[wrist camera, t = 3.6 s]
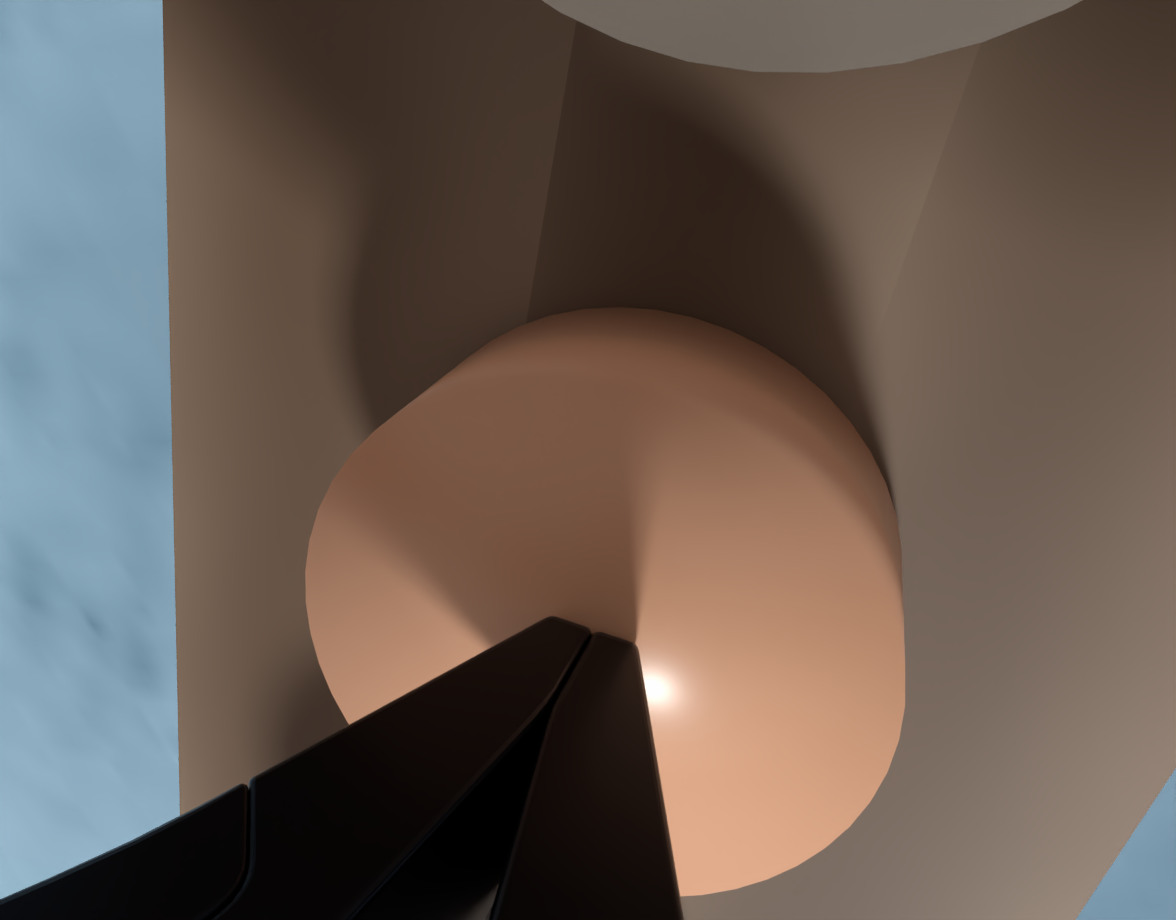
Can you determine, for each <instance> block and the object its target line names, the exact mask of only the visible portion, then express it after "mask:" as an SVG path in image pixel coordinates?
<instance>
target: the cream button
mask: <svg viewBox="0 0 1176 920" xmlns="http://www.w3.org/2000/svg"><path fill="white" fill-rule="evenodd" d="M542 1H544V2H545V3H547V4H548V5H550V6H551V7H553V8H554V9H556V10H557V11H559V12H560V13H562V14H564V15H566V16H569V17H571V18H573V19H575V20H577V21H579V22H581V23H583V24H586V25H588V26H590V27H592V28H594V29H596V30H598V31H600V32H602V33H605V34H607V35H609V36H611V37H613V38H615V39H617V40H619V41H622V42H625V43H628V44H631V45H635V46H638V47H641V48H644V49H648V50H651V51H654V52H657V53H661V54H664V55H667V56H671V57H674V58H677V59H680V60H684V61H687V62H694V63H700V64H707V65H714V66H720V67H727V68H733V69H740V70H746V71H753V72H820V73H828V72H836V71H844V70H852V69H860V68H868V67H875V66H883V65H891V64H899V63H905V62H909V61H913V60H917V59H921V58H924V57H928V56H932V55H936V54H940V53H943V52H947V51H951V50H955V49H959V48H962V47H966V46H970V45H974V44H978V43H982V42H985V41H987V40H990V39H992V38H995V37H997V36H1000V35H1002V34H1005V33H1007V32H1010V31H1012V30H1015V29H1017V28H1020V27H1022V26H1025V25H1027V24H1030V23H1033V22H1035V21H1038V20H1040V19H1043V18H1045V17H1048V16H1050V15H1053V14H1055V13H1058V12H1060V11H1063V10H1065V9H1067V8H1069V7H1071V6H1073V5H1075V4H1077V3H1078V2H1080V1H1082V0H542Z"/></svg>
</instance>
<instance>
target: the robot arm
mask: <svg viewBox="0 0 1176 920" xmlns="http://www.w3.org/2000/svg"><path fill="white" fill-rule="evenodd" d="M492 905H493V906H492ZM491 907H492V909H491ZM490 909H491V913H490V916H489V920H684V916H683V910H682V904H681V898H680V892H679V886H678V880H677V874H676V868H675V862H674V856H673V850H672V844H671V838H670V832H669V826H668V821H667V815H666V809H665V803H664V797H663V791H662V785H661V779H660V773H659V767H658V761H657V755H656V749H655V743H654V737H653V731H652V725H651V719H650V713H649V707H648V701H647V695H646V689H645V683H644V677H643V671H642V665H641V660H640V654H639V650H638V647H637V646H636V644H634V643H633V642H630V641H627V640H624V639H622V638H619V637H616V636H613V635H610V634H607V633H604V632H596V633H594V634H593V635H592V633H591V630H590V629H589V628H588V627H586V626H583V625H580V624H577V623H574V622H572V621H569V620H566V619H563V618H560V617H557V616H549V617H546V618H544V619H542V620H540V621H538V622H536V623H535V624H533V625H531V626H529V627H527V628H525V629H524V630H522V631H520V632H518V633H516V634H514V635H513V636H511V637H509V638H507V639H505V640H503V641H502V642H500V643H498V644H496V645H494V646H492V647H491V648H489V649H487V650H485V651H483V652H481V653H480V654H478V655H476V656H474V657H472V658H470V659H469V660H467V661H465V662H463V663H461V664H459V665H458V666H456V667H454V668H452V669H450V670H448V671H447V672H445V673H443V674H441V675H439V676H437V677H436V678H434V679H432V680H430V681H428V682H426V683H425V684H423V685H421V686H419V687H417V688H415V689H414V690H412V691H410V692H408V693H406V694H404V695H403V696H401V697H399V698H397V699H395V700H393V701H392V702H390V703H388V704H386V705H384V706H382V707H381V708H379V709H377V710H375V711H373V712H371V713H370V714H368V715H366V716H364V717H362V718H360V719H359V720H357V721H355V722H353V723H351V724H349V725H348V726H346V727H344V728H342V729H340V730H338V731H337V732H335V733H333V734H331V735H329V736H327V737H326V738H324V739H322V740H320V741H318V742H316V743H315V744H313V745H311V746H309V747H307V748H305V749H304V750H302V751H300V752H298V753H296V754H294V755H293V756H291V757H289V758H287V759H285V760H283V761H281V762H280V763H278V764H276V765H274V766H272V767H270V768H269V769H267V770H265V771H263V772H261V773H259V774H258V775H256V776H254V777H252V778H251V779H250V781H249V789H248V786H247V785H246V784H243V783H241V784H239V785H237V786H235V787H233V788H231V789H229V790H228V791H226V792H224V793H222V794H220V795H218V796H216V797H215V798H213V799H211V800H209V801H207V802H205V803H204V804H202V805H200V806H198V807H196V808H194V809H192V810H190V811H188V812H186V813H184V814H182V815H181V816H179V817H177V818H175V819H173V820H171V821H169V822H167V823H165V824H163V825H161V826H159V827H157V828H155V829H153V830H151V831H149V832H147V833H145V834H143V835H142V836H140V837H138V838H136V839H134V840H132V841H130V842H127V843H125V844H123V845H121V846H119V847H117V848H114V849H112V850H110V851H108V852H106V853H103V854H101V855H99V856H97V857H95V858H92V859H90V860H88V861H86V862H84V863H82V864H79V865H77V866H75V867H73V868H71V869H68V870H66V871H64V872H62V873H60V874H57V875H55V876H53V877H51V878H49V879H46V880H44V881H42V882H39V883H37V884H35V885H32V886H30V887H28V888H25V889H23V890H21V891H19V892H16V893H14V894H12V895H9V896H7V897H5V898H2V899H0V920H485V918H486V916H487V914H488V912H489V911H490Z"/></svg>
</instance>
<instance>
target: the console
mask: <svg viewBox="0 0 1176 920" xmlns="http://www.w3.org/2000/svg"><path fill="white" fill-rule="evenodd" d="M163 41H164V88H165V134H166V181H167V228H168V274H169V321H170V367H171V414H172V461H173V507H174V554H175V600H176V647H177V694H178V740H179V787H180V816H181V815H182V814H184V813H186V812H188V811H190V810H192V809H194V808H196V807H198V806H200V805H202V804H204V803H205V802H207V801H209V800H211V799H213V798H215V797H216V796H218V795H220V794H222V793H224V792H226V791H228V790H229V789H231V788H233V787H235V786H237V785H239V784H241V783H243V784H246V785H247V786H248V789H249V781H250V779H251V778H252V777H254V776H256V775H258V774H259V773H261V772H263V771H265V770H267V769H269V768H270V767H272V766H274V765H276V764H278V763H280V762H281V761H283V760H285V759H287V758H289V757H291V756H293V755H294V754H296V753H298V752H300V751H302V750H304V749H305V748H307V747H309V746H311V745H313V744H315V743H316V742H318V741H320V740H322V739H324V738H326V737H327V736H329V735H331V734H333V733H335V732H337V731H338V730H340V729H342V728H344V727H346V726H348V725H349V724H348V722H347V721H346V719H345V717H344V715H343V713H342V712H341V710H340V708H339V706H338V704H337V703H336V701H335V699H334V697H333V695H332V693H331V691H330V689H329V686H328V684H327V681H326V679H325V677H324V674H323V672H322V669H321V667H320V665H319V661H318V658H317V654H316V651H315V647H314V644H313V640H312V637H311V633H310V627H309V620H308V614H307V607H306V586H305V569H306V562H307V554H308V547H309V540H310V536H311V533H312V529H313V526H314V523H315V519H316V516H317V512H318V509H319V507H320V505H321V503H322V501H323V499H324V497H325V495H326V493H327V491H328V489H329V486H330V484H331V482H332V481H333V479H334V478H335V476H336V475H337V473H338V472H339V471H340V469H341V468H342V466H343V465H344V464H345V462H346V461H347V459H348V458H349V456H350V455H351V454H352V453H353V452H354V451H355V450H356V449H357V448H358V447H359V446H360V445H361V444H362V443H363V442H364V441H365V440H366V439H367V438H368V437H369V436H370V435H371V434H372V433H373V432H374V431H375V430H376V429H377V428H379V427H380V426H381V425H382V424H384V423H385V422H386V421H387V420H389V419H390V418H391V417H393V416H394V415H395V414H396V413H398V412H399V411H400V410H401V409H403V408H404V407H405V406H407V405H408V404H409V403H410V402H412V401H413V400H414V399H415V398H417V397H418V396H419V395H420V394H422V393H423V392H424V391H426V390H427V389H428V388H429V387H431V386H432V385H433V384H434V383H436V382H437V381H438V380H440V379H441V378H442V377H443V376H445V375H446V374H447V373H448V372H450V371H451V370H452V369H454V368H455V367H456V366H457V365H459V364H460V363H461V362H462V361H464V360H465V359H466V358H468V357H469V356H470V355H472V354H473V353H475V352H476V351H477V350H479V349H480V348H481V347H483V346H484V345H486V344H487V343H488V342H490V341H491V340H493V339H495V338H497V337H499V336H501V335H503V334H505V333H507V332H509V331H511V330H513V329H514V328H516V327H518V326H521V325H524V324H527V323H530V322H533V321H536V320H539V319H541V318H544V317H547V316H550V315H555V314H561V313H566V312H571V311H576V310H581V309H592V308H610V307H627V308H640V309H653V310H660V311H665V312H669V313H674V314H679V315H684V316H689V317H693V318H696V319H699V320H702V321H705V322H708V323H711V324H714V325H717V326H720V327H722V328H725V329H728V330H731V331H733V332H735V333H737V334H739V335H741V336H743V337H745V338H747V339H749V340H751V341H753V342H755V343H757V344H759V345H761V346H763V347H765V348H766V349H768V350H769V351H771V352H772V353H774V354H775V355H777V356H778V357H780V358H781V359H783V360H785V361H786V362H788V363H789V364H791V365H792V366H794V367H795V368H797V369H798V370H799V371H800V372H801V373H802V374H803V375H805V376H806V377H807V378H808V379H809V380H810V381H812V382H813V383H814V384H815V385H816V386H817V387H819V388H820V389H821V390H822V391H823V392H824V393H825V394H826V395H827V396H828V397H829V398H830V399H831V400H832V401H833V403H834V404H835V405H836V406H837V407H838V408H839V409H840V410H841V412H842V413H843V414H844V415H845V416H846V417H847V418H848V419H849V421H850V422H851V423H852V425H853V426H854V428H855V429H856V431H857V432H858V434H859V435H860V437H861V438H862V440H863V441H864V443H865V444H866V446H867V447H868V449H869V450H870V451H871V453H872V455H873V458H874V460H875V462H876V464H877V466H878V468H879V470H880V472H881V474H882V476H883V478H884V480H885V482H886V485H887V488H888V491H889V494H890V497H891V500H892V504H893V507H894V510H895V513H896V516H897V523H898V529H899V535H900V542H901V548H902V579H903V611H904V644H905V709H904V715H903V721H902V726H901V732H900V738H899V742H898V745H897V747H896V750H895V753H894V756H893V759H892V761H891V764H890V767H889V770H888V772H887V774H886V776H885V778H884V779H883V781H882V783H881V785H880V786H879V788H878V790H877V792H876V793H875V795H874V797H873V798H872V800H871V802H870V803H869V804H868V805H867V807H866V808H865V809H864V810H863V811H862V813H861V814H860V815H859V816H858V817H857V819H856V820H855V821H854V822H853V824H852V825H851V826H850V827H849V828H848V829H847V830H846V831H844V832H843V833H842V834H841V835H840V836H839V837H837V838H836V839H835V840H834V841H833V842H832V843H831V844H829V845H828V846H827V847H826V848H825V849H823V850H822V851H820V852H818V853H817V854H815V855H814V856H812V857H811V858H809V859H807V860H806V861H804V862H803V863H801V864H800V865H798V866H796V867H794V868H792V869H789V870H787V871H785V872H783V873H781V874H778V875H776V876H774V877H772V878H770V879H767V880H764V881H761V882H757V883H754V884H751V885H748V886H744V887H741V888H738V889H734V890H728V891H722V892H717V893H711V894H705V895H696V896H680V898H681V904H682V910H683V916H684V920H1076V918H1077V917H1078V915H1079V914H1080V912H1081V911H1082V909H1083V907H1084V906H1085V904H1086V903H1087V901H1088V900H1089V898H1090V897H1091V895H1092V894H1093V892H1094V891H1095V889H1096V888H1097V886H1098V885H1099V883H1100V882H1101V880H1102V879H1103V877H1104V876H1105V874H1106V873H1107V871H1108V870H1109V868H1110V867H1111V865H1112V864H1113V862H1114V861H1115V859H1116V858H1117V856H1118V855H1119V853H1120V852H1121V850H1122V849H1123V847H1124V845H1125V844H1126V842H1127V841H1128V839H1129V838H1130V836H1131V835H1132V833H1133V832H1134V830H1135V829H1136V827H1137V826H1138V824H1139V823H1140V821H1141V820H1142V818H1143V817H1144V815H1145V814H1146V812H1147V811H1148V809H1149V808H1150V806H1151V805H1152V803H1153V802H1154V800H1155V799H1156V797H1157V796H1158V794H1159V793H1160V791H1161V790H1162V788H1163V787H1164V785H1165V783H1166V782H1167V780H1168V779H1169V777H1170V776H1171V774H1172V773H1173V771H1174V770H1175V768H1176V0H1082V1H1080V2H1078V3H1077V4H1075V5H1073V6H1071V7H1069V8H1067V9H1065V10H1063V11H1060V12H1058V13H1055V14H1053V15H1050V16H1048V17H1045V18H1043V19H1040V20H1038V21H1035V22H1033V23H1030V24H1027V25H1025V26H1022V27H1020V28H1017V29H1015V30H1012V31H1010V32H1007V33H1005V34H1002V35H1000V36H997V37H995V38H992V39H990V40H987V41H985V42H982V43H978V44H974V45H970V46H966V47H962V48H959V49H955V50H951V51H947V52H943V53H940V54H936V55H932V56H928V57H924V58H921V59H917V60H913V61H909V62H905V63H899V64H891V65H883V66H875V67H868V68H860V69H852V70H844V71H836V72H828V73H820V72H753V71H746V70H740V69H733V68H727V67H720V66H714V65H707V64H700V63H694V62H687V61H684V60H680V59H677V58H674V57H671V56H667V55H664V54H661V53H657V52H654V51H651V50H648V49H644V48H641V47H638V46H635V45H631V44H628V43H625V42H622V41H619V40H617V39H615V38H613V37H611V36H609V35H607V34H605V33H602V32H600V31H598V30H596V29H594V28H592V27H590V26H588V25H586V24H583V23H581V22H579V21H577V20H575V19H573V18H571V17H569V16H566V15H564V14H562V13H560V12H559V11H557V10H556V9H554V8H553V7H551V6H550V5H548V4H547V3H545V2H544V1H542V0H163Z"/></svg>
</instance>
